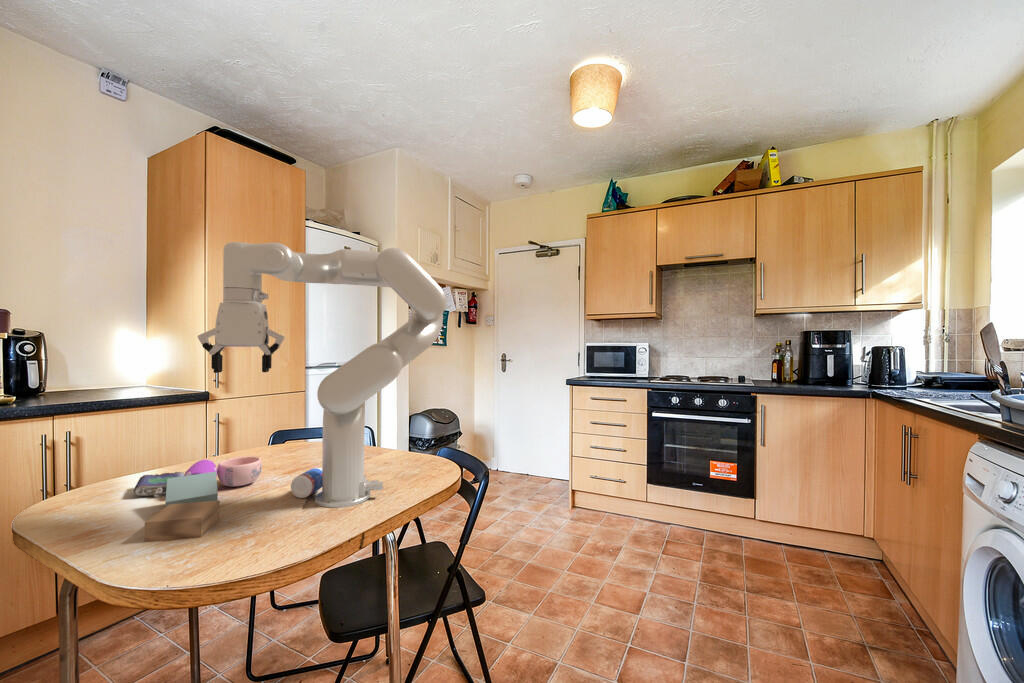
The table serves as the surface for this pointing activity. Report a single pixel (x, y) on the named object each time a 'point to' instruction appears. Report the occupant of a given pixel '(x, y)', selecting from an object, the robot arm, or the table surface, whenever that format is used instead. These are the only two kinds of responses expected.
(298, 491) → the pill bottle
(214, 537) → the table surface
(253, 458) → the pink bowl
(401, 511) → the table surface
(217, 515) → the tower base
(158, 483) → the flask
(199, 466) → the toy
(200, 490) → the tower top
